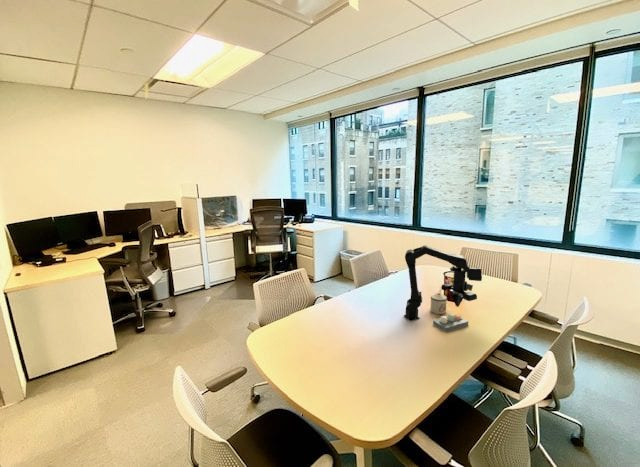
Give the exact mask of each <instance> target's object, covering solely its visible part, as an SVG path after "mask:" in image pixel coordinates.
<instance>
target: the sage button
mask: <svg viewBox="0 0 640 467" xmlns="http://www.w3.org/2000/svg"><path fill="white" fill-rule="evenodd" d="M454 315H455V314H452V313H448V314H447V316H448V320H447V321H448V322H450V323H453V322H454Z"/></svg>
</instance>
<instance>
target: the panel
mask: <svg viewBox="0 0 640 467" xmlns="http://www.w3.org/2000/svg"><path fill="white" fill-rule="evenodd" d="M453 315H454V316H455V315H456V314H453ZM446 317H447V320H448V315H447V316H446ZM440 322H441V317H439V318H437V319H434V320H433V321H432V325H433V326H435V327H436V328H438V329H440V330H442V332H445V333H447V332H450V331H454V330H457V329H458V330H459V329H461V328H464V327H469V320H466V319H465V318H462V317H461V320H460V321H456V320H455V319H454V322H453V323H450V322H448V321H447V324H446V325H443V324H441V323H440Z"/></svg>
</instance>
